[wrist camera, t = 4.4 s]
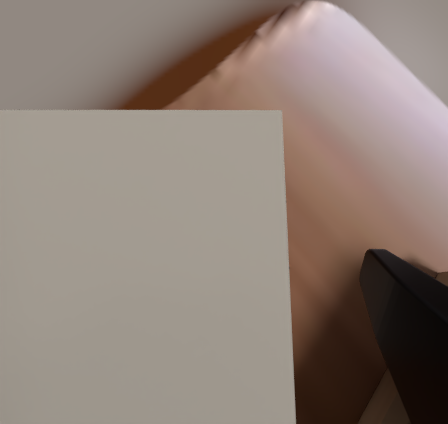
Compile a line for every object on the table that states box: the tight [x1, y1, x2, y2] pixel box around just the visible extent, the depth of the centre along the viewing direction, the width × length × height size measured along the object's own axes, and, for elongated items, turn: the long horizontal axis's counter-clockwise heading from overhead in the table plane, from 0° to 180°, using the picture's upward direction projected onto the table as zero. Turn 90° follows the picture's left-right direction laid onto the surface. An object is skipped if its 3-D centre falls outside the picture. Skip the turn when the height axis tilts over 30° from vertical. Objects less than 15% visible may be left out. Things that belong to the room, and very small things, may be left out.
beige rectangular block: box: [0, 110, 296, 424], centre depth 9 cm, size 4×3×12 cm
